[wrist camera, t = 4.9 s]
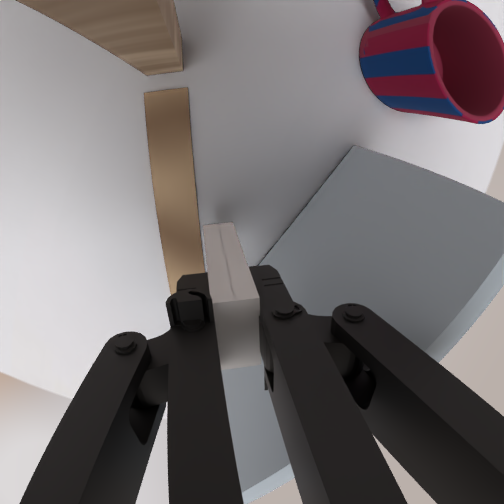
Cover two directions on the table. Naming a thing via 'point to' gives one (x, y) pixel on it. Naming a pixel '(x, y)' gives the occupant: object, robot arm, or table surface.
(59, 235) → the table surface
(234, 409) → the door
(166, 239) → the doorframe
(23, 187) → the table surface
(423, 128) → the table surface
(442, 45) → the mug
